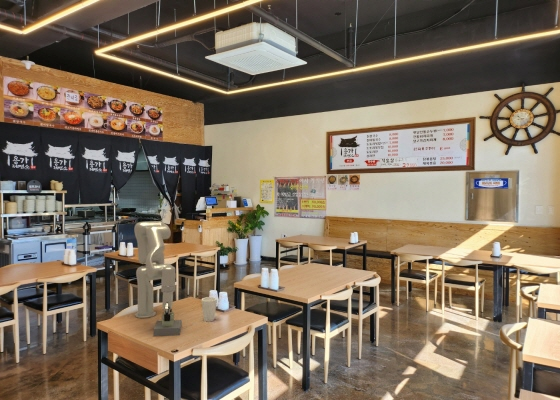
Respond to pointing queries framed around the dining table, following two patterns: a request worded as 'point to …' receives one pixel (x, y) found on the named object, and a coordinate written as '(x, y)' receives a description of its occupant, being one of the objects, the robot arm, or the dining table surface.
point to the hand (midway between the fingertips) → (167, 318)
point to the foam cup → (209, 308)
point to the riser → (167, 328)
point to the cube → (168, 323)
